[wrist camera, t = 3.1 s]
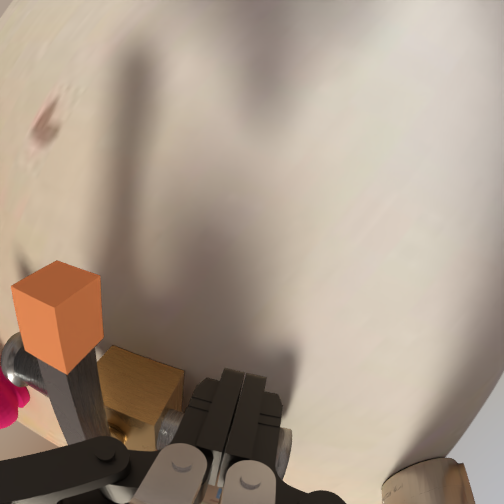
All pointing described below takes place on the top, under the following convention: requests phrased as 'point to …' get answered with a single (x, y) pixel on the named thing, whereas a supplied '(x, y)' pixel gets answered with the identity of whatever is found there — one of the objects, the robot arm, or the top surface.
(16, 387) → the pepper mill
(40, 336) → the lever
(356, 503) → the top surface
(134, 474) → the robot arm
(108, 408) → the valve pipe
